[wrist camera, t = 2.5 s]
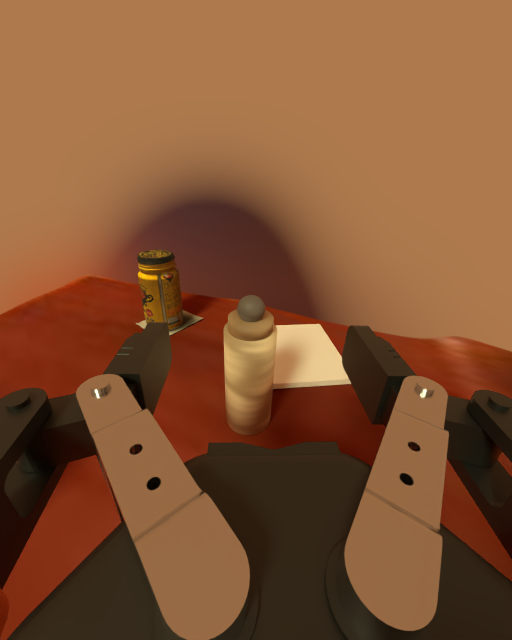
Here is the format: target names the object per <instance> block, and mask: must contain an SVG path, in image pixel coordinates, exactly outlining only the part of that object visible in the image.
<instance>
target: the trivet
mask: <svg viewBox="0 0 512 640" xmlns="http://www.w3.org/2000/svg"><path fill="white" fill-rule="evenodd" d="M276 327H277V341H276V354H275V367H274V379H273V389H280V388H294V387H309V386H324V385H339V384H351V382H350V380H349V378H348V376H347V374H346V372H345V370H344V368H343V365H342V357H341V356H340V354H339V352H338V351H337V349H336V348H335V346H334V345H333V343H332V342H331V340H330V339H329V337H328V336H327V334H326V333H325V331H324V330H323V328H322V327H321V325H320V324H305V325H278V326H276Z"/></svg>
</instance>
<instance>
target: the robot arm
mask: <svg viewBox="0 0 512 640" xmlns="http://www.w3.org/2000/svg"><path fill="white" fill-rule="evenodd" d="M171 359H172V352H171V344H170V335H169V327H168V323H167V322H148V324H147V325H146V327H145V329H144V330H143V332H142V333H135V334H134V335H132V336H131V337H129V338H128V339H126V341H125V342H124V344H123V345H122V347H121V349H120V350H119V351H118V352H117V355H115V357H114V358H113V360H112V361H111V363H110V364H109V366H108V367H107V369H106V370H105V372H104V373H103V375H99V376H96V377H93V378H91V379H89V380H87V381H85V382H84V383H83V384H81V386H80V387H79V388H78V389H77V392H76V393H75V394H71V395H66V396H61V397H56V398H51V399H48V396H47V394H46V392H45V391H44V390H42V389H39V388H27V389H22V390H18V391H16V392H13V393H10V394H8V395H6V396H4V397H3V398H1V399H0V637H1V633H2V631H3V628H4V625H5V622H6V620H7V616H8V611H9V602H8V598H7V596H6V594H5V593H4V592H3V591H2V589H3V587H4V585H5V583H6V581H7V579H8V577H9V575H10V573H11V571H12V570H13V568H14V566H15V564H16V562H17V560H18V558H19V556H20V554H21V552H22V550H23V548H24V547H25V545H26V543H27V541H28V539H29V537H30V535H31V533H32V531H33V529H34V527H35V525H36V524H37V522H38V520H39V518H40V516H41V514H42V512H43V510H44V508H45V506H46V504H47V502H48V501H49V499H50V497H51V495H52V493H53V491H54V489H55V487H56V485H57V483H58V481H59V479H60V478H61V476H62V474H63V472H64V470H65V468H66V466H67V464H68V462H71V461H75V460H78V459H82V458H86V457H89V456H93V455H96V456H97V459H98V461H99V464H100V467H101V469H102V472H103V475H104V477H105V480H106V483H107V485H108V488H109V491H110V493H111V496H112V499H113V502H114V504H115V507H116V510H117V513H118V516H119V519H120V521H121V523H120V524H119V525H118V526H117V527H116V528H115V529H114V530H113V531H112V532H111V533H110V534H109V535H108V536H107V537H106V538H105V539H104V540H103V541H102V542H101V543H100V544H99V545H98V546H97V547H96V548H95V549H94V550H93V551H92V552H91V553H90V554H89V555H88V556H87V557H86V558H85V559H84V560H83V561H82V562H81V563H80V564H79V565H78V566H77V567H76V568H75V569H74V570H73V571H72V572H71V573H70V574H69V575H68V576H67V577H66V578H65V579H64V580H63V581H62V582H61V583H60V584H59V585H58V586H57V587H56V588H55V589H54V590H53V591H52V592H51V593H50V594H49V595H48V596H47V597H46V598H45V599H44V600H43V601H42V602H41V603H40V604H39V605H38V606H37V607H36V608H35V609H34V610H33V611H32V612H31V613H30V614H29V615H28V616H27V617H26V618H25V619H24V620H23V622H22V623H21V624H20V625H19V626H18V627H17V628H16V629H15V630H14V632H13V633H12V634H11V635H10V636H9V638H8V639H7V640H512V582H511V581H510V580H509V579H508V578H506V577H505V576H504V575H503V574H502V573H500V572H499V571H498V570H497V569H496V568H494V567H493V566H492V565H491V564H489V563H488V562H487V561H486V560H485V559H483V558H482V557H481V556H480V555H479V554H477V553H476V552H475V551H474V550H472V549H471V548H470V547H469V546H468V545H466V544H465V543H464V542H463V541H462V540H460V539H459V538H458V537H457V536H456V535H454V534H453V533H452V532H451V531H449V530H448V529H447V528H446V527H445V526H443V525H442V524H441V523H440V517H441V507H442V497H443V487H444V478H445V468H446V458H447V459H448V461H449V462H450V464H451V465H452V467H453V468H454V470H455V472H456V473H457V475H458V476H459V478H460V479H461V481H462V482H463V484H464V486H465V487H466V489H467V490H468V492H469V493H470V495H471V496H472V498H473V500H474V501H475V503H476V504H477V506H478V507H479V509H480V510H481V512H482V514H483V515H484V517H485V518H486V520H487V521H488V523H489V524H490V526H491V528H492V529H493V531H494V532H495V534H496V535H497V537H498V538H499V540H500V542H501V543H502V545H503V546H504V548H505V549H506V551H507V552H508V554H509V556H510V557H511V559H512V477H511V476H510V475H509V474H508V472H507V471H506V470H505V469H504V467H503V466H502V465H501V464H500V463H499V461H498V460H497V458H498V457H499V455H500V454H501V453H502V452H503V453H504V454H505V455H506V456H507V457H508V459H509V460H510V461H511V462H512V399H510V398H508V397H506V396H504V395H502V394H500V393H497V392H493V391H489V390H478V391H475V392H474V394H473V396H472V398H471V400H467V399H462V398H458V397H453V396H449V395H447V392H446V391H445V389H444V388H443V387H442V386H441V385H439V384H438V383H436V382H435V381H433V380H430V379H428V378H425V377H421V376H417V375H416V374H415V373H414V372H413V371H412V369H411V368H410V367H409V366H408V365H407V363H406V362H405V361H404V360H403V359H402V358H401V356H400V355H399V354H398V353H397V352H396V350H395V349H394V348H393V347H392V346H391V344H390V343H388V342H387V341H385V340H384V339H382V338H381V337H377V336H376V335H375V334H374V333H373V331H372V330H371V329H370V328H369V327H368V326H350V327H349V328H348V331H347V336H346V340H345V345H344V349H343V353H342V365H343V368H344V370H345V372H346V374H347V376H348V378H349V380H350V382H351V384H352V386H353V388H354V390H355V392H356V394H357V396H358V398H359V400H360V402H361V404H362V405H363V407H364V409H365V411H366V413H367V415H368V417H369V419H370V421H371V423H372V424H384V425H385V427H386V429H385V432H384V435H383V438H382V440H381V443H380V446H379V449H378V451H377V454H376V457H375V460H374V463H373V465H372V467H371V466H370V465H368V464H367V463H365V462H363V461H361V460H360V459H357V458H355V457H353V456H350V455H347V454H344V453H340V451H339V448H338V445H337V442H304V443H300V444H296V445H292V446H288V447H284V448H280V449H268V448H263V447H259V446H254V445H250V444H245V443H209V445H208V453H207V454H203V455H200V456H197V457H195V458H193V459H191V460H189V461H187V462H185V463H183V462H182V461H181V459H180V458H179V456H178V454H177V453H176V451H175V450H174V448H173V447H172V445H171V444H170V442H169V441H168V439H167V438H166V436H165V434H164V433H163V431H162V430H161V428H160V427H159V425H158V424H157V422H156V421H155V419H154V417H153V413H154V410H155V407H156V405H157V402H158V399H159V396H160V394H161V391H162V388H163V385H164V383H165V380H166V377H167V374H168V372H169V369H170V366H171Z"/></svg>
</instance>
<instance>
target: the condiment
mask: <svg viewBox="0 0 512 640" xmlns="http://www.w3.org/2000/svg"><path fill="white" fill-rule="evenodd" d="M174 258H175V257H174V255H173V253H172V252H170V251H166V250H152V251H145V252H142V253H140V254H139V255H138V262H139V269H140V271H139V273H138V280H139V285H140V291H141V297H142V302H143V309H144V314H145V319H146V320H145V321H142V322H140V323H136V324H137V325H139V326H140V327H142V328H144V329H145V327H146V325H147V324H148V322H167V323H168V327H169V335H172V334H174V333H176V332H178V331H180V330H182V329H184V328H186V327H187V326H189V325H191V324H194V323H196V322H197V321H199V320H201V319H203V318H201V317H198V316H196V315H193V314H191V313H188V312H186V311H184V310H183V308H182V299H181V290H180V281H179V272H178V270H177V269H176V268H175V265H176V264H175V260H174Z"/></svg>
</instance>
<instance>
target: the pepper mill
mask: <svg viewBox="0 0 512 640" xmlns="http://www.w3.org/2000/svg"><path fill="white" fill-rule="evenodd" d="M273 321H274V317H273V315H272V314H271V313H270V312H268V311H266V310H265V305H264V303H263V301H262V300H261V299H260V298H259V297H257V296H254V295H249V296H246V297H243V298H242V299H241V300H240V301H239V303H238V306H237V309H236V310H234V311H232V312H231V313H230V314H229V315H228V323H227V324H226V325H225V326H224V361H225V399H226V421H227V424H228V426H229V427H230V428H231V429H232V430H233V431H235V432H237V433H239V434H242V435H254V434H258V433H260V432H262V431H263V430H265V429H266V428H267V426H268V425H269V423H270V417H271V404H272V392H273V379H274V367H275V354H276V341H277V327H276V326H275V325H274V324H273Z"/></svg>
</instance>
